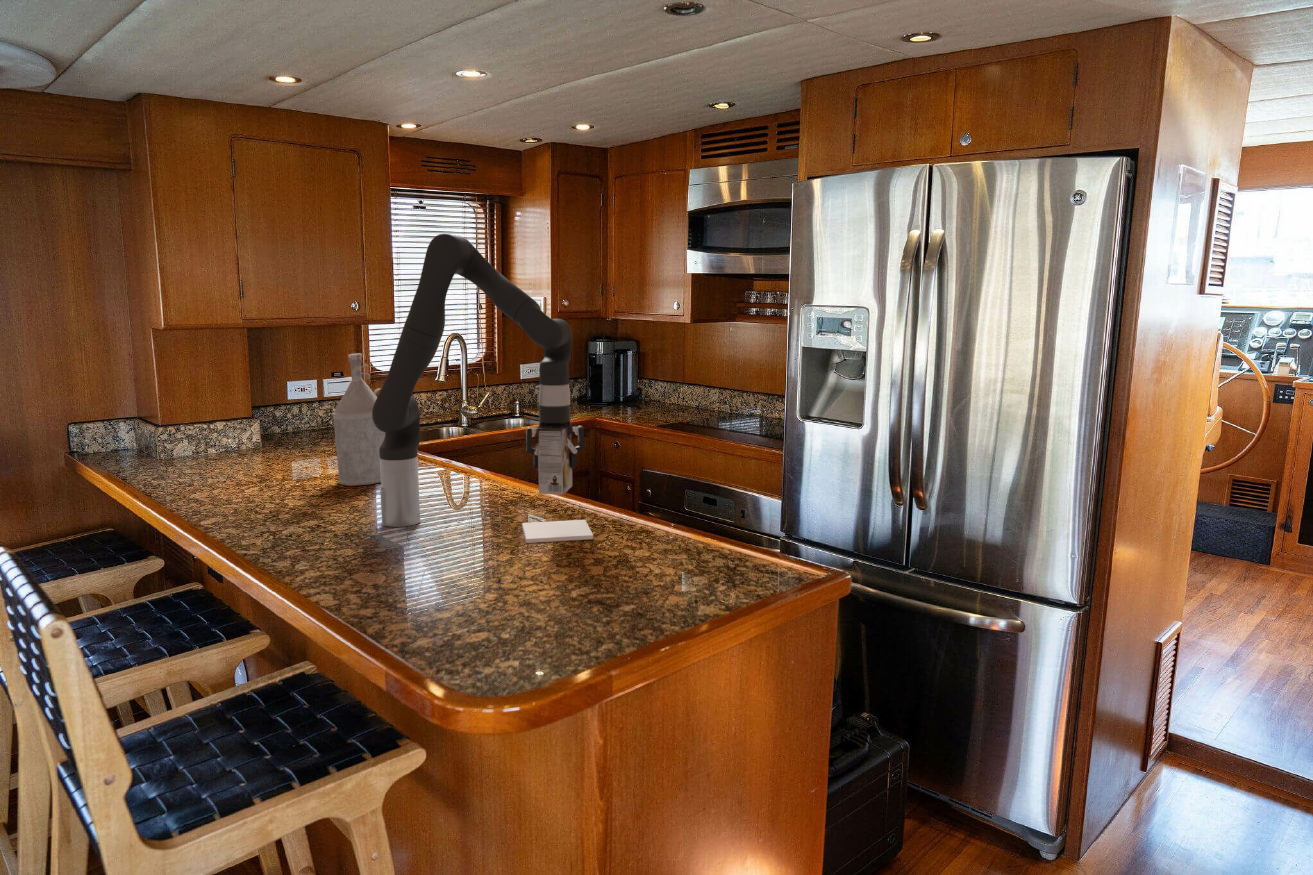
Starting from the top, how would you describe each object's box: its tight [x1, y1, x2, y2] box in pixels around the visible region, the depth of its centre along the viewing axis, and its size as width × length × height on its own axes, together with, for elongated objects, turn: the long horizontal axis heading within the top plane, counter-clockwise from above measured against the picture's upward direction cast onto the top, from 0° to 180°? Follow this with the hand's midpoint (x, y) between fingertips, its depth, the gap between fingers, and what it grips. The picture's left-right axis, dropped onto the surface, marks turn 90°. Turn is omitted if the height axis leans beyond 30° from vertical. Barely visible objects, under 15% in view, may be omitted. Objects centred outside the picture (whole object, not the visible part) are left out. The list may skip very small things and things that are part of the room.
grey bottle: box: [332, 352, 385, 487], centre depth 263 cm, size 13×17×40 cm
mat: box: [521, 519, 594, 544], centre depth 212 cm, size 16×14×1 cm
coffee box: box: [537, 423, 573, 496], centre depth 209 cm, size 9×6×16 cm
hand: (555, 468), depth 209 cm, fingers closed on coffee box, 8 cm apart
